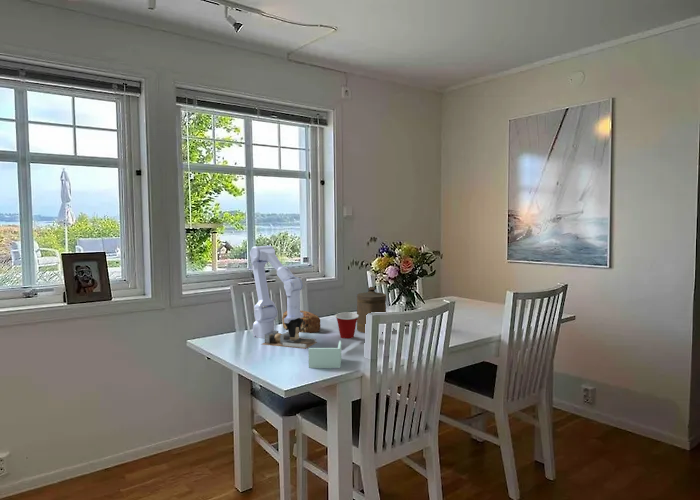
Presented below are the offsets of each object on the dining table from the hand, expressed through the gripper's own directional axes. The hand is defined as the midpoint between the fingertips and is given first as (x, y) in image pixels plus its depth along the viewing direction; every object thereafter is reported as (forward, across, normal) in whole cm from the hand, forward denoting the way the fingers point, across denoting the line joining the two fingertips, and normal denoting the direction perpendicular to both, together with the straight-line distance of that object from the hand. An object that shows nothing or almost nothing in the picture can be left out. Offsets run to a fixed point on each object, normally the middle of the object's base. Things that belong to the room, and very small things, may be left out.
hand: (294, 336), depth 219 cm
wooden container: (+5, +42, -22) cm, 47 cm away
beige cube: (+3, 0, +1) cm, 4 cm away
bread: (+5, +30, +12) cm, 32 cm away
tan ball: (+3, 0, +8) cm, 9 cm away
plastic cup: (+5, +19, -18) cm, 26 cm away
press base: (+5, 0, +2) cm, 6 cm away
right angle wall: (+5, -17, -23) cm, 29 cm away
